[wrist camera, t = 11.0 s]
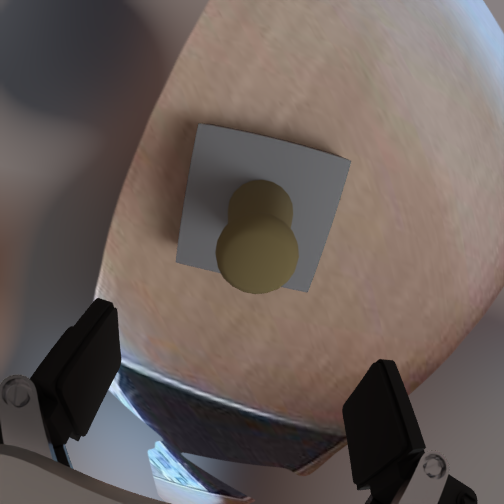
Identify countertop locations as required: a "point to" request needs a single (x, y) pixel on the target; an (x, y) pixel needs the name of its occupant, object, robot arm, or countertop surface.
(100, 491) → the robot arm
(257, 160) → the base block
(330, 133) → the countertop surface
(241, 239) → the cork
